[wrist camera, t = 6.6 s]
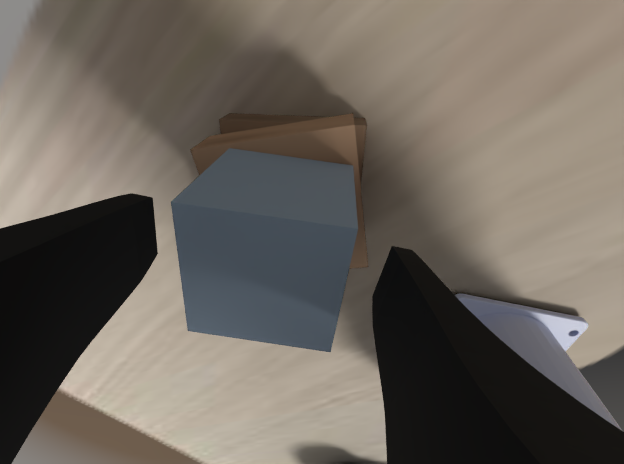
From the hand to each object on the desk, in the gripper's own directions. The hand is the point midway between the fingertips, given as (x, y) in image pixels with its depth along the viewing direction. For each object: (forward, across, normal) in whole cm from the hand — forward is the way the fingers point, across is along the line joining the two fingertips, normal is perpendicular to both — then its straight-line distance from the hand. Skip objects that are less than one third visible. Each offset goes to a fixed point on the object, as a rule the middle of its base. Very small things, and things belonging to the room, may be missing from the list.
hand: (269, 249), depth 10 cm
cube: (+3, 0, 0) cm, 3 cm away
